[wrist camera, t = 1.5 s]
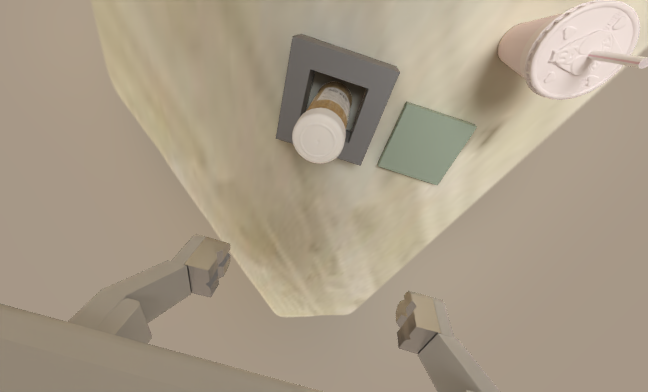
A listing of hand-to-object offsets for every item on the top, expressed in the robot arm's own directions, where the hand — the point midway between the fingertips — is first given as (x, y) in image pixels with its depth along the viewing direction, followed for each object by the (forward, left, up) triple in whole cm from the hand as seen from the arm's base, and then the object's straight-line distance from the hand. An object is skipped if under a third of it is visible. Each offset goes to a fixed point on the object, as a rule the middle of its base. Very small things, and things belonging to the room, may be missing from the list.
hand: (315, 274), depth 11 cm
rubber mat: (+2, +11, -26) cm, 28 cm away
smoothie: (-12, +14, -26) cm, 32 cm away
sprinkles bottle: (0, -2, -26) cm, 26 cm away
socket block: (0, -2, -26) cm, 26 cm away
